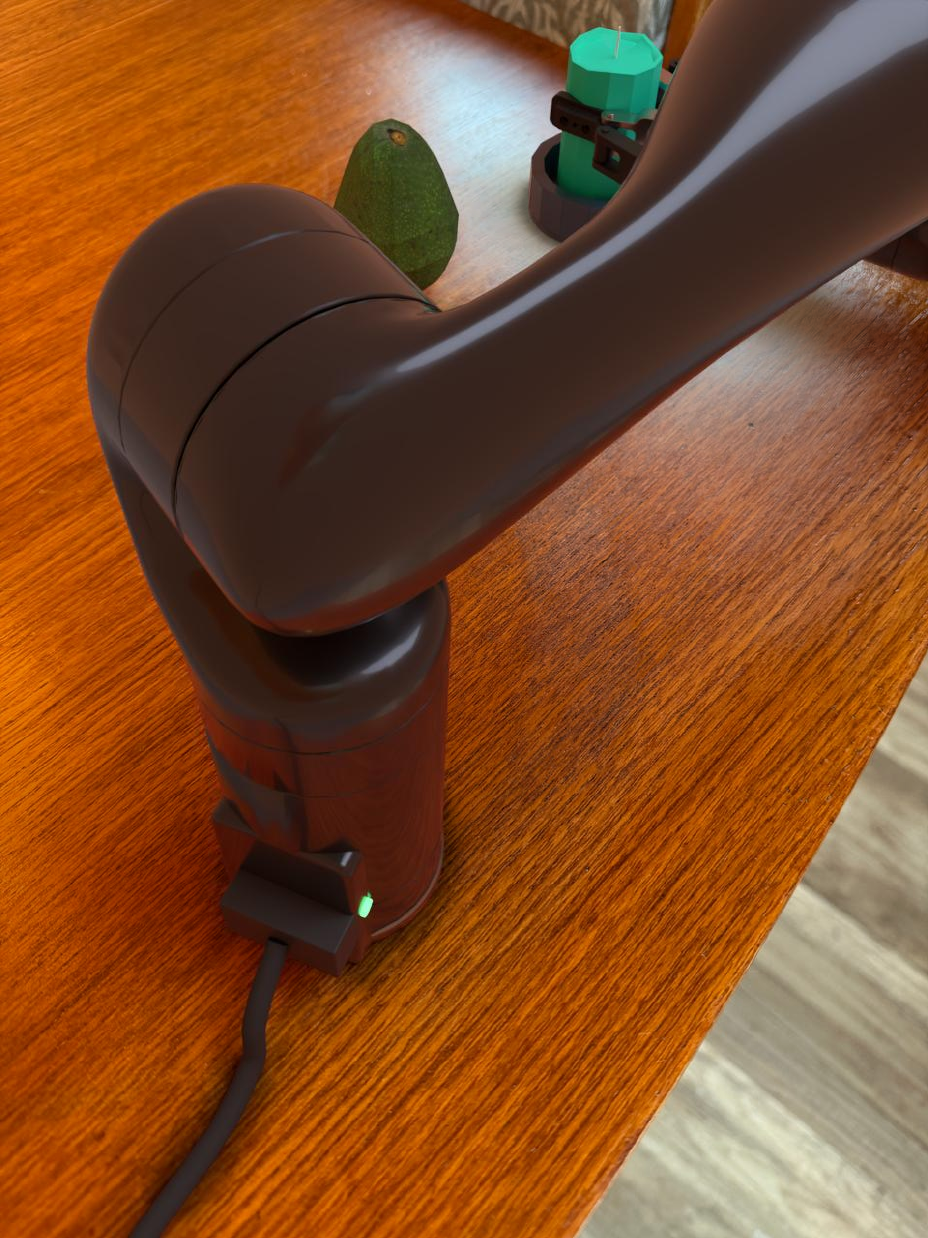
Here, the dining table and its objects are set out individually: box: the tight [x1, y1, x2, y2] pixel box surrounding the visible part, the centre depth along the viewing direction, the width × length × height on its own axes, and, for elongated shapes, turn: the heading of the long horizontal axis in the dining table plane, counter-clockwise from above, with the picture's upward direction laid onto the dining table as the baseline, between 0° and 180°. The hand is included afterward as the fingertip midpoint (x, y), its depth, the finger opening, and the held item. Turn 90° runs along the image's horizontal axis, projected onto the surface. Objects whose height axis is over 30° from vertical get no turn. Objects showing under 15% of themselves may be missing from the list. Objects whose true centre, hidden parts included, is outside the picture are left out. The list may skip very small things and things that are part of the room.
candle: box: [556, 25, 664, 200], centre depth 80 cm, size 6×6×12 cm
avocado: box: [332, 117, 460, 292], centre depth 75 cm, size 8×8×12 cm
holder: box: [527, 131, 610, 244], centre depth 85 cm, size 9×9×4 cm
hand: (575, 88), depth 80 cm, fingers closed on candle, 4 cm apart
